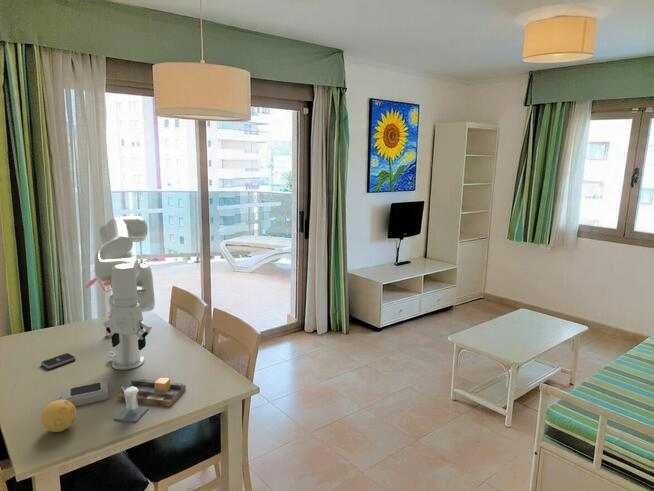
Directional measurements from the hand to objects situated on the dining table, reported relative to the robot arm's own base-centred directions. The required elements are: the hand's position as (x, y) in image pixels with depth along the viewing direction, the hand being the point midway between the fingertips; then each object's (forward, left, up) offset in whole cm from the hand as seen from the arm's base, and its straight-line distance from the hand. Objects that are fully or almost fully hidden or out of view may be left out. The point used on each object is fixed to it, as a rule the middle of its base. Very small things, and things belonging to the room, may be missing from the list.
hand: (129, 346), depth 155 cm
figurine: (-44, +58, -23) cm, 76 cm away
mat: (+3, -6, -22) cm, 23 cm away
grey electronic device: (-20, +1, -23) cm, 30 cm away
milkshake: (+3, -5, -22) cm, 23 cm away
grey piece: (+3, +7, -22) cm, 24 cm away
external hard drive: (-48, +23, -23) cm, 58 cm away
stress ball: (-15, -18, -23) cm, 32 cm away
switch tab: (+7, +7, -20) cm, 23 cm away
